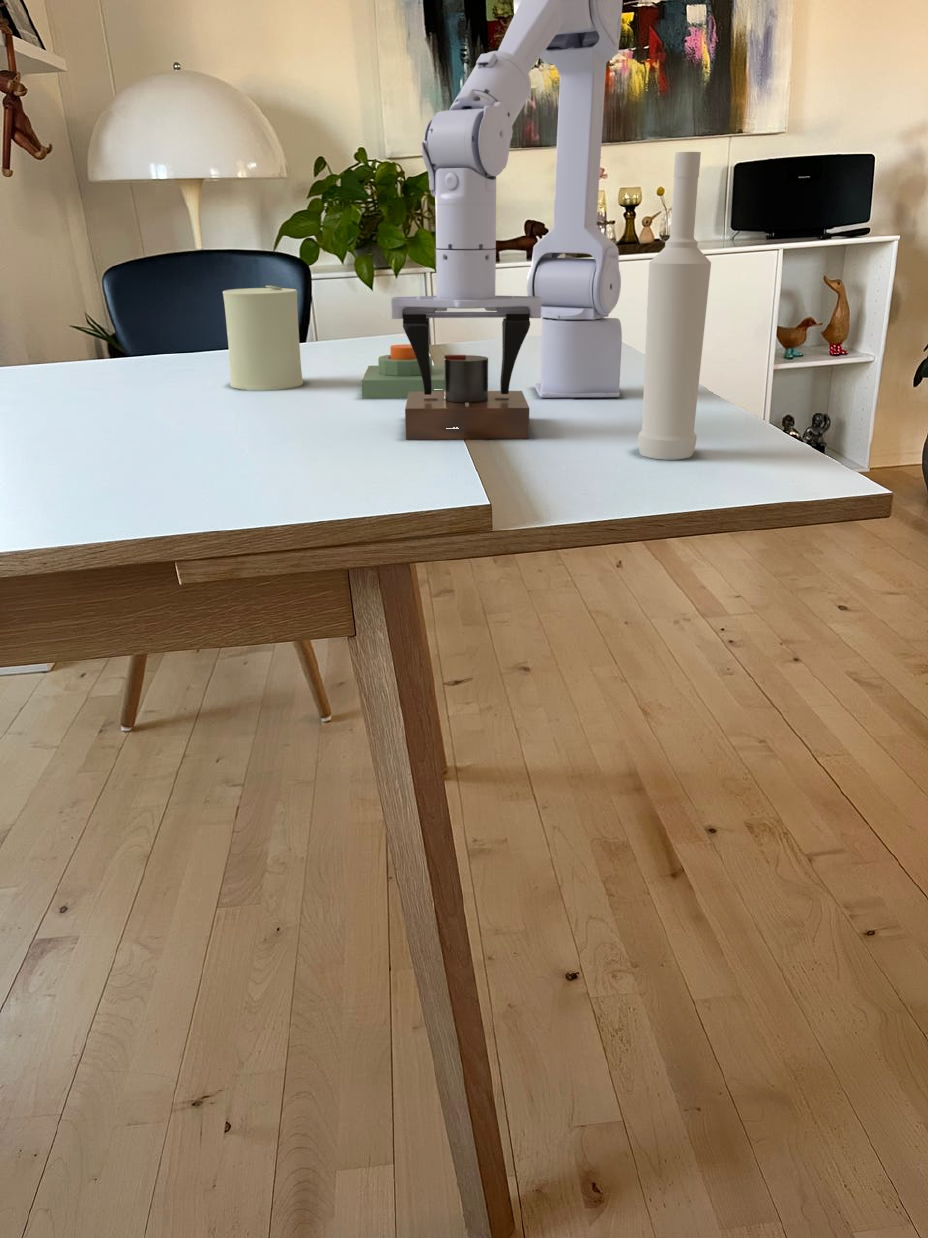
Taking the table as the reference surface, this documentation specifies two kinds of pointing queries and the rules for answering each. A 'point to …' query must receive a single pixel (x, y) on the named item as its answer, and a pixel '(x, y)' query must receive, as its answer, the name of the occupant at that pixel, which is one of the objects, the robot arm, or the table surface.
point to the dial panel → (467, 417)
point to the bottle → (675, 326)
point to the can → (263, 338)
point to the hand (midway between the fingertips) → (466, 392)
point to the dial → (465, 378)
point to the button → (402, 352)
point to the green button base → (398, 378)
